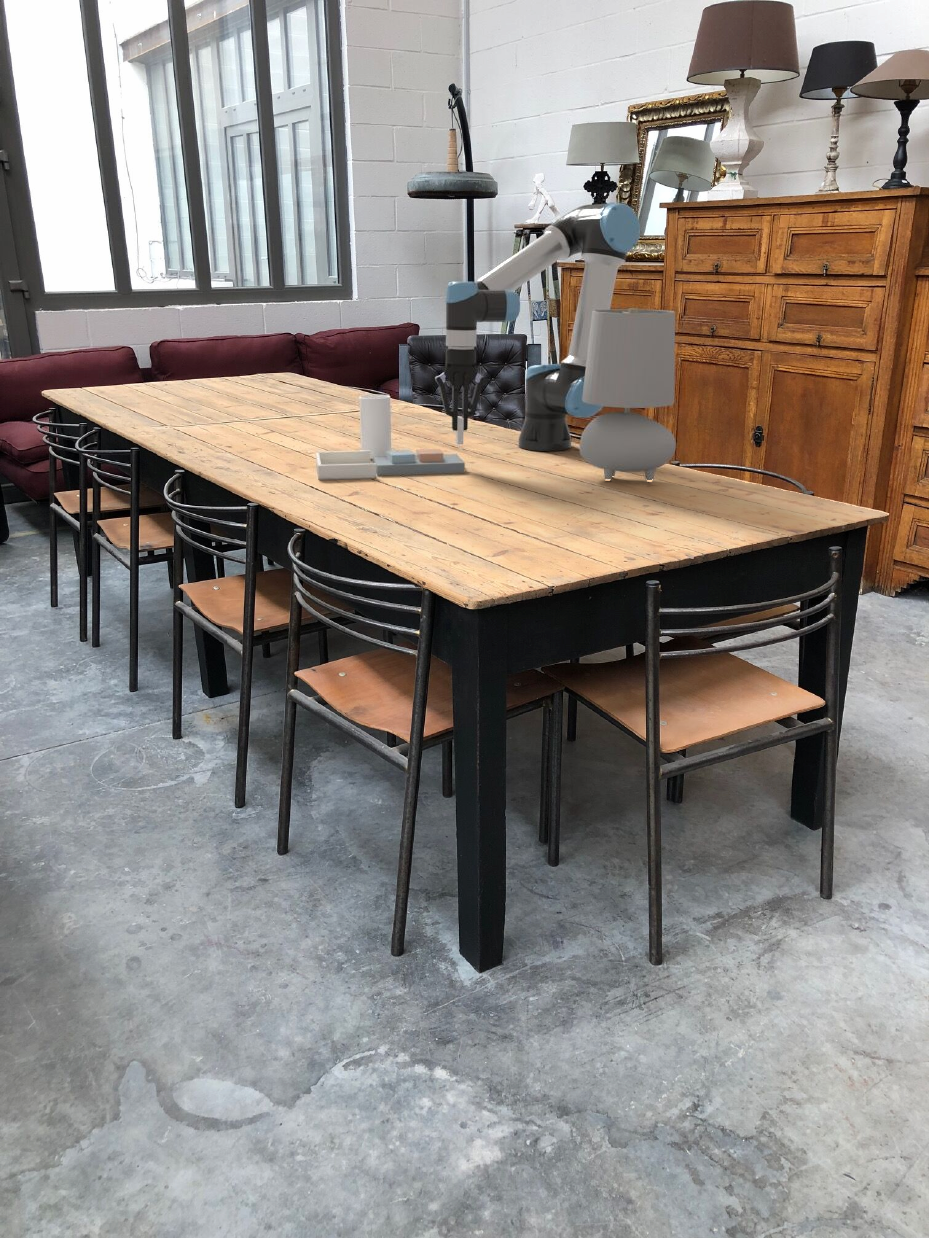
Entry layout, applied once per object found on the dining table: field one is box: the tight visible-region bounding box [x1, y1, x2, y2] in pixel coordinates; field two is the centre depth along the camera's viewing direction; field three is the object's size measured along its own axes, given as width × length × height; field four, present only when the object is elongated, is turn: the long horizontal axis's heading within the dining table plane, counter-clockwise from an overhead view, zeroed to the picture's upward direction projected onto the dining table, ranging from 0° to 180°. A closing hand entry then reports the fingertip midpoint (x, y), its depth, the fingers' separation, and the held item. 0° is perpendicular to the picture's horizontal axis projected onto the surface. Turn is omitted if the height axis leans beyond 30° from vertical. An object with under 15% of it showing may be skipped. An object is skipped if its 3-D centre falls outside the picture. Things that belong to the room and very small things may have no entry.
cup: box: [358, 394, 392, 460], centre depth 260 cm, size 8×8×16 cm
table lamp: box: [579, 307, 677, 480], centre depth 228 cm, size 23×22×40 cm
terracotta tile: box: [416, 448, 444, 462], centre depth 246 cm, size 6×6×2 cm
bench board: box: [372, 453, 466, 477], centre depth 246 cm, size 22×12×2 cm, turn 100°
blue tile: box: [386, 449, 416, 463], centre depth 244 cm, size 6×6×2 cm
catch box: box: [315, 450, 377, 481], centre depth 243 cm, size 14×18×4 cm
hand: (459, 443), depth 246 cm, fingers closed
